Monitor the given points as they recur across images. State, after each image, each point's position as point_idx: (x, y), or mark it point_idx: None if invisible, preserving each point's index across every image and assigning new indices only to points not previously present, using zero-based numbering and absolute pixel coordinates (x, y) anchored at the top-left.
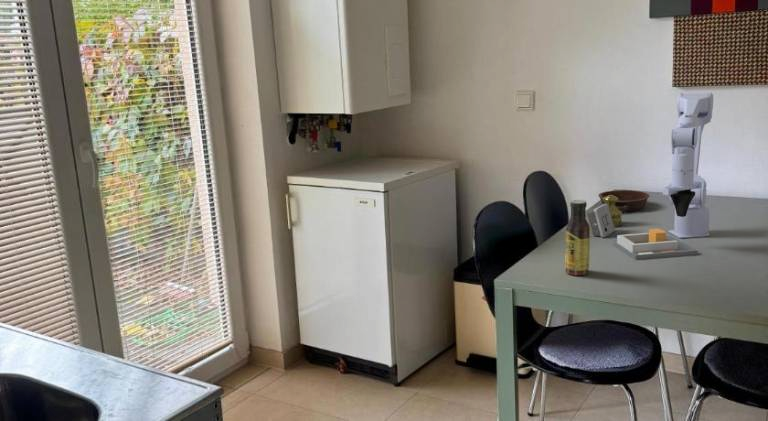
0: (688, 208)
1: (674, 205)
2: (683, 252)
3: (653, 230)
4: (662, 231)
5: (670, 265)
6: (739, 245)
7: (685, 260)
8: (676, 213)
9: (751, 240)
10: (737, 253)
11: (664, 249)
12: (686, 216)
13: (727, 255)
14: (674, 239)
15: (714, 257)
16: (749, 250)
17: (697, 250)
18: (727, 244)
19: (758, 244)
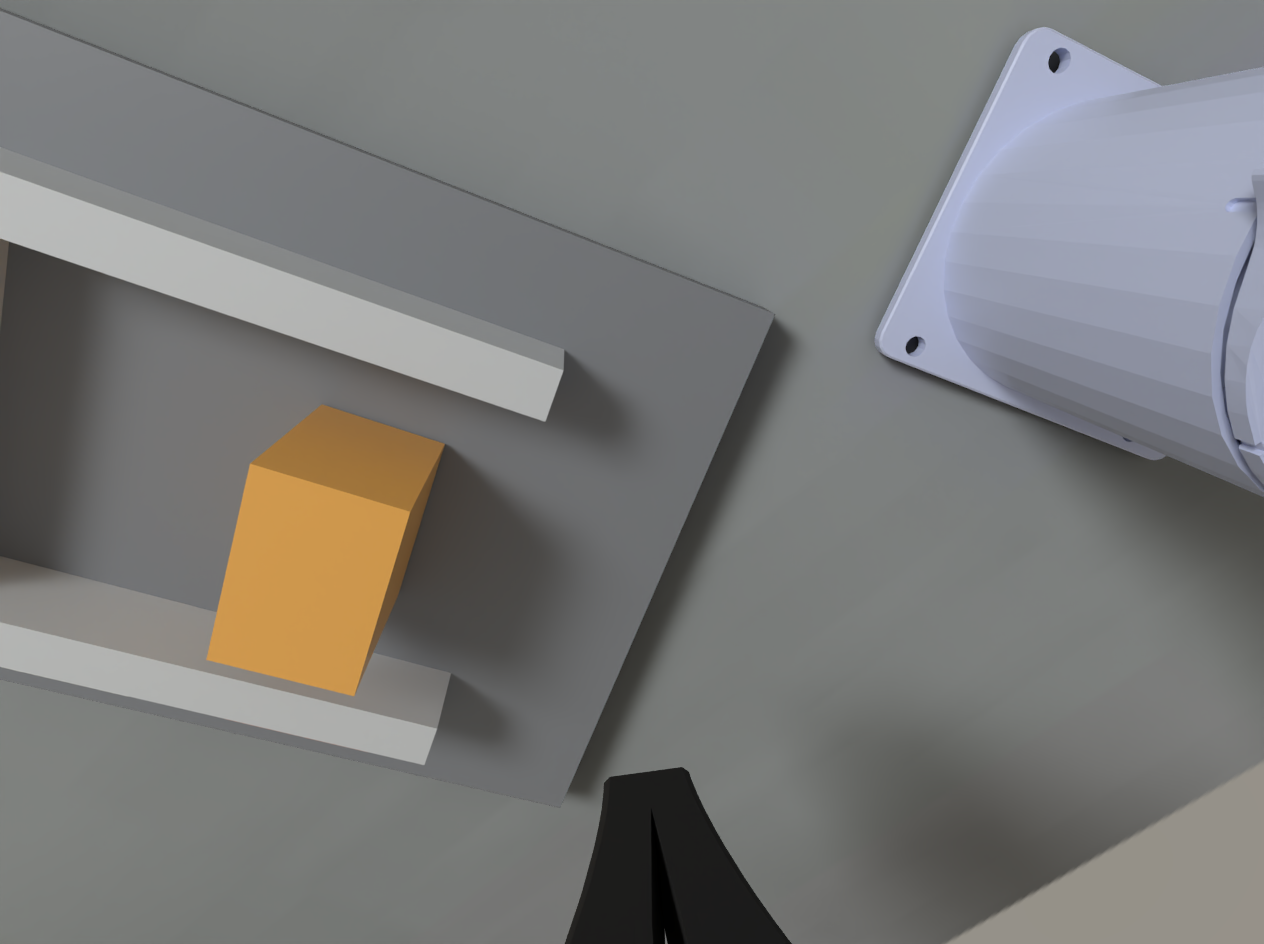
0: (1258, 474)
1: (567, 940)
2: (431, 771)
3: (264, 548)
4: (343, 644)
5: (158, 864)
6: (1034, 763)
7: (360, 832)
8: (605, 802)
9: (1232, 719)
10: (827, 881)
11: None
12: (1125, 411)
13: None
14: (685, 448)
15: None
16: (957, 872)
17: (558, 807)
18: (999, 703)
19: (1150, 809)
